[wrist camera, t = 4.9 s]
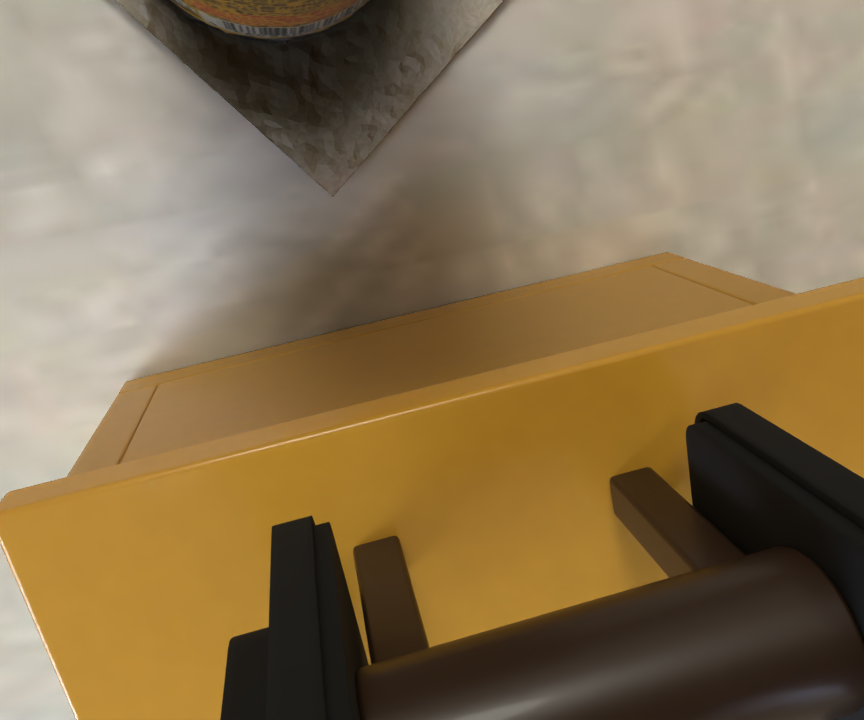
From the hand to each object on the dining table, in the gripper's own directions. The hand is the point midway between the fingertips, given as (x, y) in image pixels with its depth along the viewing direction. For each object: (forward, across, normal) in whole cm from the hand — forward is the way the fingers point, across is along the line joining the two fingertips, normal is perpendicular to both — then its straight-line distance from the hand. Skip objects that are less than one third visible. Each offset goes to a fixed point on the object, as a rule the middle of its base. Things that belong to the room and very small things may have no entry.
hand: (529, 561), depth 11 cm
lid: (+2, 0, +6) cm, 6 cm away
